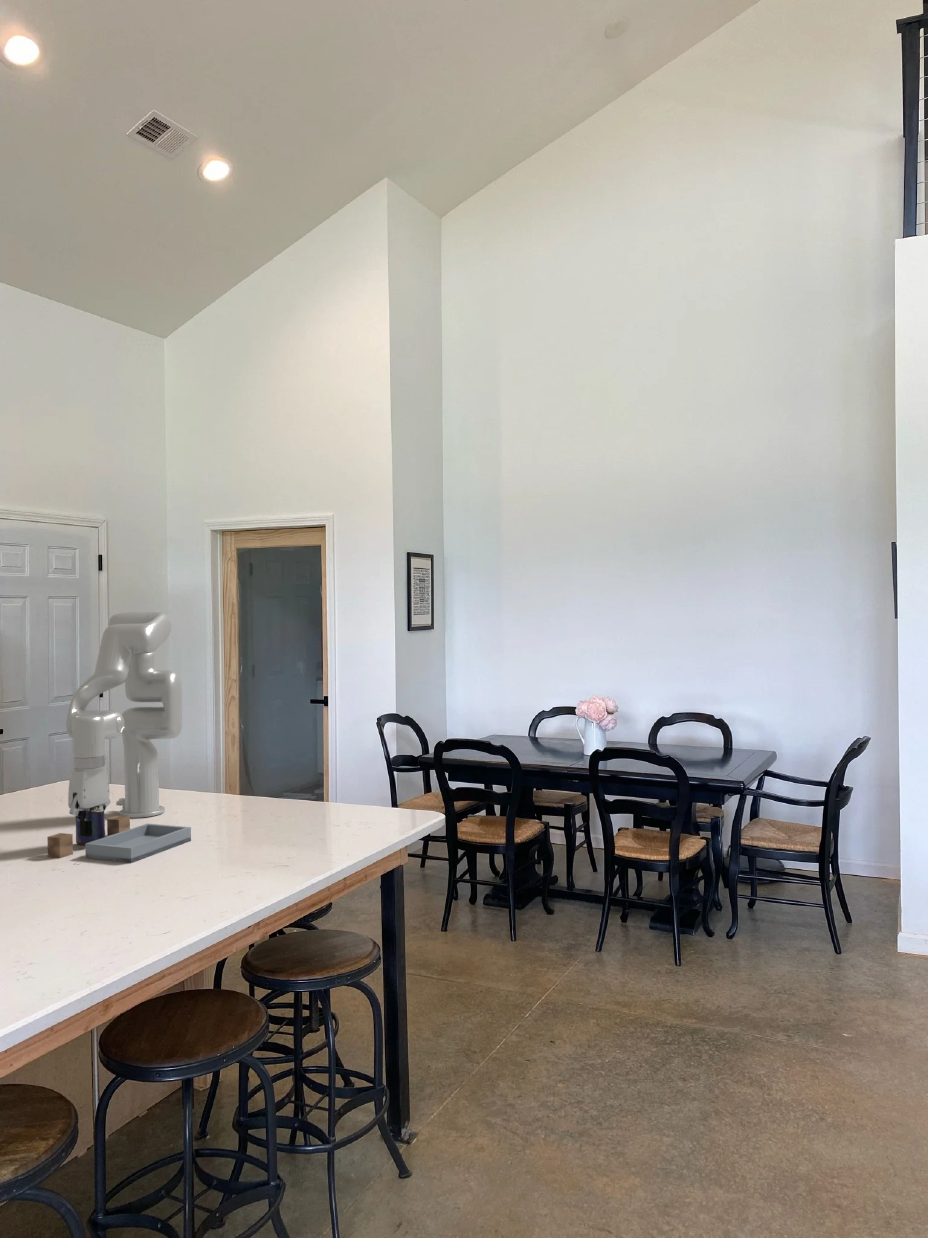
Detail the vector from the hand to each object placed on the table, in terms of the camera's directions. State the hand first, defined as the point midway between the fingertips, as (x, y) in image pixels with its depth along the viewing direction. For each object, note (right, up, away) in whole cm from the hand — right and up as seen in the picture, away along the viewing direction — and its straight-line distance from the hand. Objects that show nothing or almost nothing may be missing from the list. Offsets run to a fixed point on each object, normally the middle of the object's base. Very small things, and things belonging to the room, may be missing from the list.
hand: (91, 833), depth 235 cm
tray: (+14, -3, -5) cm, 15 cm away
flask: (0, -3, 0) cm, 3 cm away
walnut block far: (+4, -3, +9) cm, 10 cm away
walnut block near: (-4, -3, -10) cm, 11 cm away
